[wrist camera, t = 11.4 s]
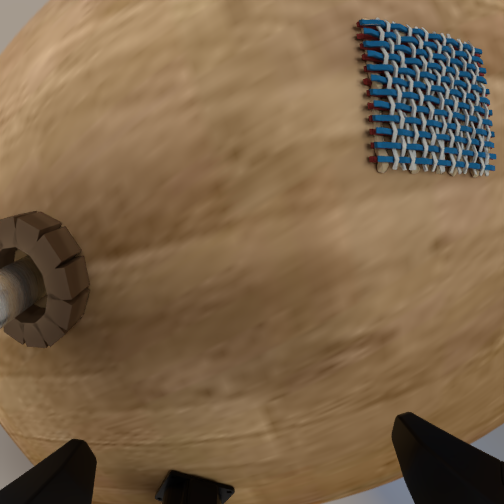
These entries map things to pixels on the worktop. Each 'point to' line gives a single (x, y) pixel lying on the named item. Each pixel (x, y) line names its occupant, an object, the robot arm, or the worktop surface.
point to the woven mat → (426, 99)
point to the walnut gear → (46, 277)
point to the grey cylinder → (19, 288)
